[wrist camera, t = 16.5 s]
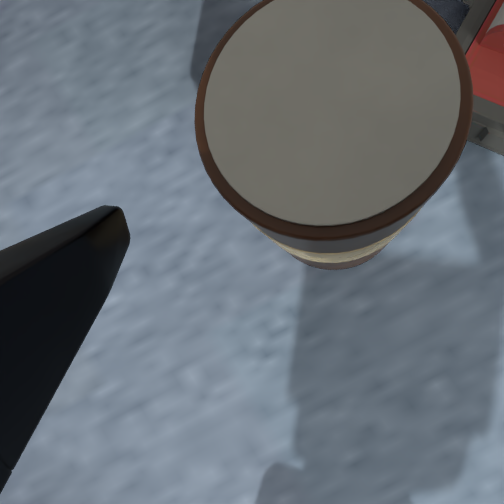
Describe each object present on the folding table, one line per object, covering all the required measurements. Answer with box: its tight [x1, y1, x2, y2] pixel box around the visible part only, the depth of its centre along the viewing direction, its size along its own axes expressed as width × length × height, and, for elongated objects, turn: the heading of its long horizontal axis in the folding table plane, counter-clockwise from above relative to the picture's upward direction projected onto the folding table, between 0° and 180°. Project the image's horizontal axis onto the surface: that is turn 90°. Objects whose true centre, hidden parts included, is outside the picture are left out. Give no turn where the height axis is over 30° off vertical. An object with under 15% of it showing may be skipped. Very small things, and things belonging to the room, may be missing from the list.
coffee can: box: [195, 0, 473, 270], centre depth 14 cm, size 6×6×11 cm
